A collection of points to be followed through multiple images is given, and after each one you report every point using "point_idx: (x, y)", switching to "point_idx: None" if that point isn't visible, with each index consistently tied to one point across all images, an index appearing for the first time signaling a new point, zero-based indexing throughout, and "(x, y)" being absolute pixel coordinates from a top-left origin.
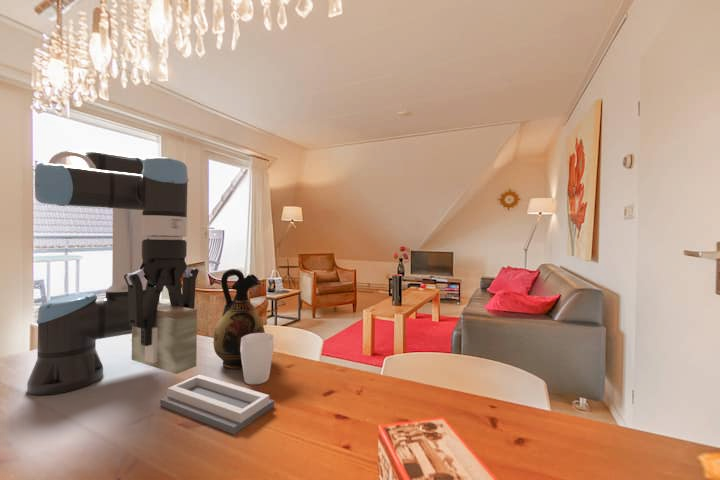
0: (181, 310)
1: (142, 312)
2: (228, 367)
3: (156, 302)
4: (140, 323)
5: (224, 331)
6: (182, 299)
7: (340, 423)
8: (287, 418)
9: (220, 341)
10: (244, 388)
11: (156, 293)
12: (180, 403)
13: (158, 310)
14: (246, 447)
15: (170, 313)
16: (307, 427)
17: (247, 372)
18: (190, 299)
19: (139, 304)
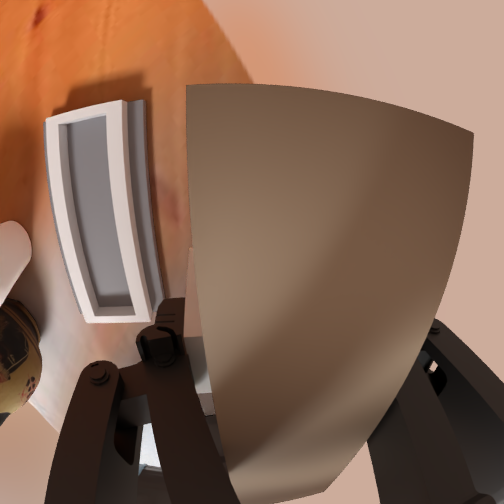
0: (363, 248)
1: (463, 369)
2: (35, 323)
3: (425, 443)
4: (438, 326)
5: (13, 377)
6: (172, 492)
7: (54, 3)
8: (67, 69)
9: (27, 366)
10: (52, 189)
11: (460, 492)
12: (149, 269)
13: (397, 391)
14: (163, 55)
15: (448, 248)
16: (78, 25)
17: (19, 250)
18: (89, 470)
19: (500, 395)
